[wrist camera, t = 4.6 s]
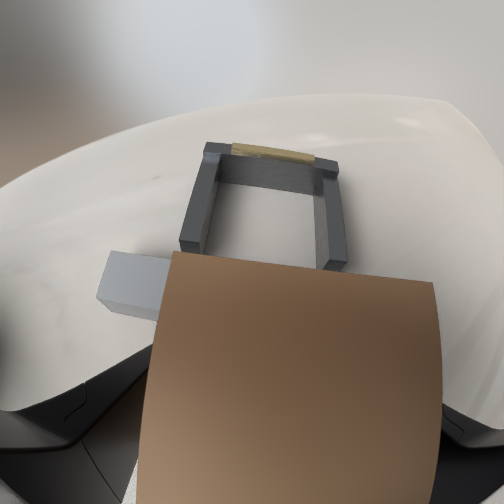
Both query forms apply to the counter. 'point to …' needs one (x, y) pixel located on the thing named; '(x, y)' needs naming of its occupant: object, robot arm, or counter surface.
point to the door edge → (133, 284)
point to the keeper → (275, 177)
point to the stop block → (290, 387)
